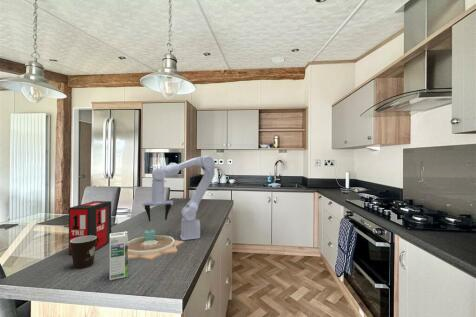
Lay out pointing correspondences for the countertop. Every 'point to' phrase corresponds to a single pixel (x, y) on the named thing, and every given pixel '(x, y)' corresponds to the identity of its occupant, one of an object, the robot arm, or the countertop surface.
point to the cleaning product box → (91, 222)
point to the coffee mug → (83, 251)
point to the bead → (149, 235)
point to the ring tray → (152, 247)
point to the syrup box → (118, 255)
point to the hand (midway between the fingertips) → (157, 220)
